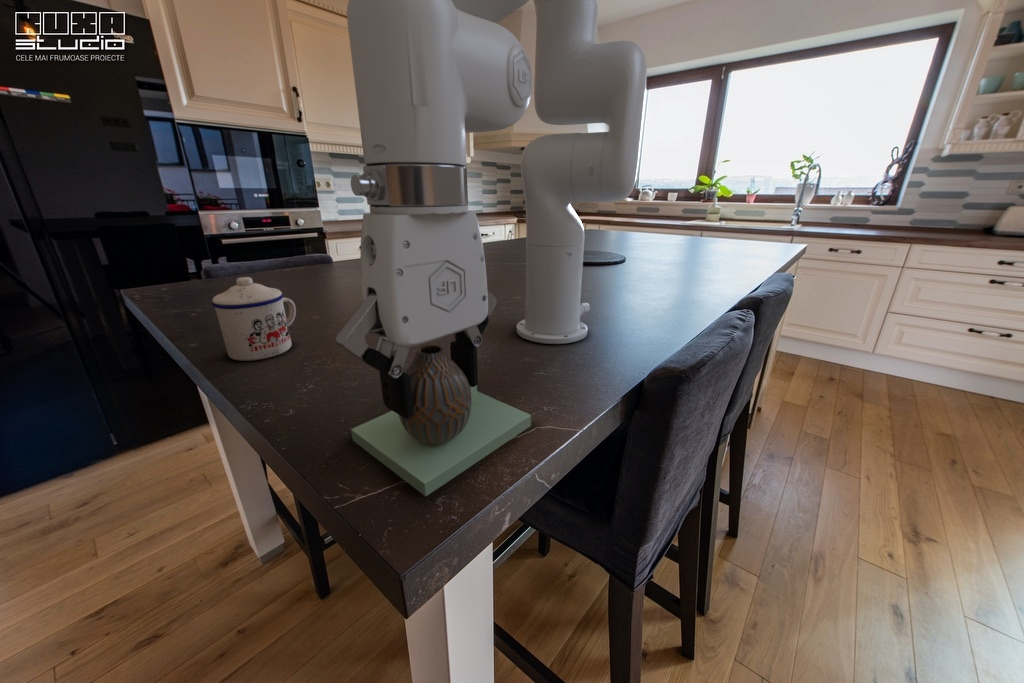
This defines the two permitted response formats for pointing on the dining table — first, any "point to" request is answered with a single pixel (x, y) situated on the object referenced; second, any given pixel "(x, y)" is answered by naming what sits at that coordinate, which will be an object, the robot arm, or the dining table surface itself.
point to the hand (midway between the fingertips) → (434, 394)
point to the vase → (437, 397)
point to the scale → (441, 461)
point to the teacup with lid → (254, 320)
